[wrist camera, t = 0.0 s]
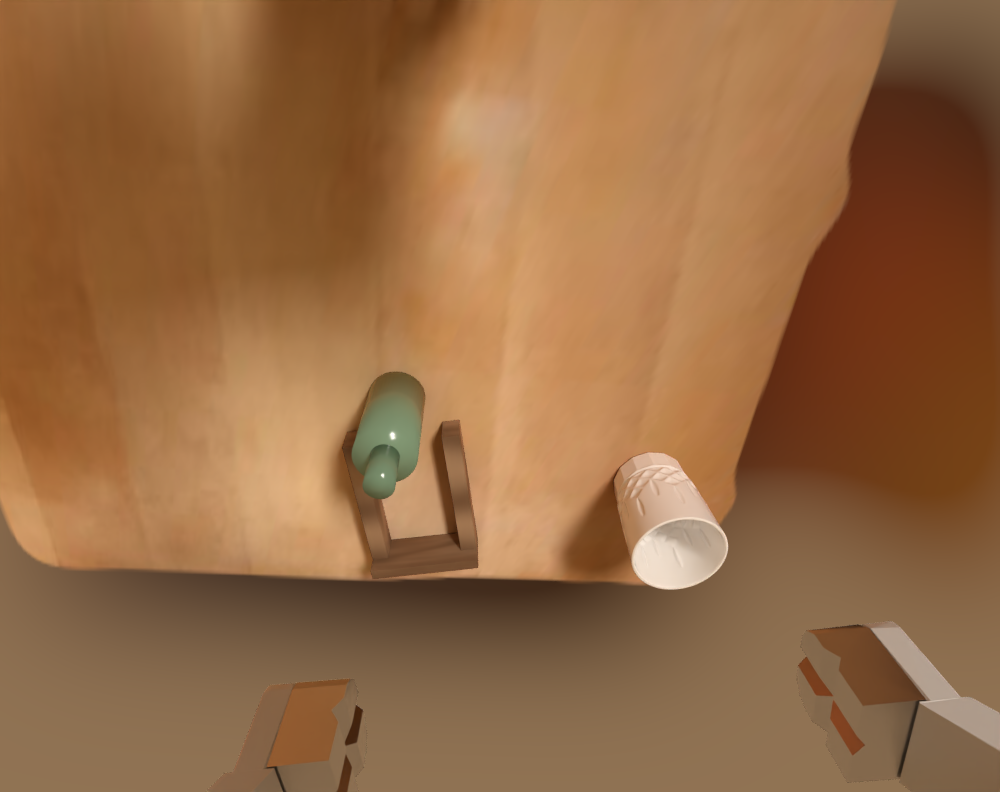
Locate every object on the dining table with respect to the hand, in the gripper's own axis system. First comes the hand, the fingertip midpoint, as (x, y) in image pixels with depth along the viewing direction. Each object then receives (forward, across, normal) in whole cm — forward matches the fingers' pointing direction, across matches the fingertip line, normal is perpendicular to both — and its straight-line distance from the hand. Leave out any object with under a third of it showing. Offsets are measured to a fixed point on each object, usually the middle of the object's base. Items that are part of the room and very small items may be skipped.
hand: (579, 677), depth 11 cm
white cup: (+42, -12, +23) cm, 49 cm away
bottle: (+40, +10, +11) cm, 43 cm away
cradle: (+41, +10, +20) cm, 47 cm away
